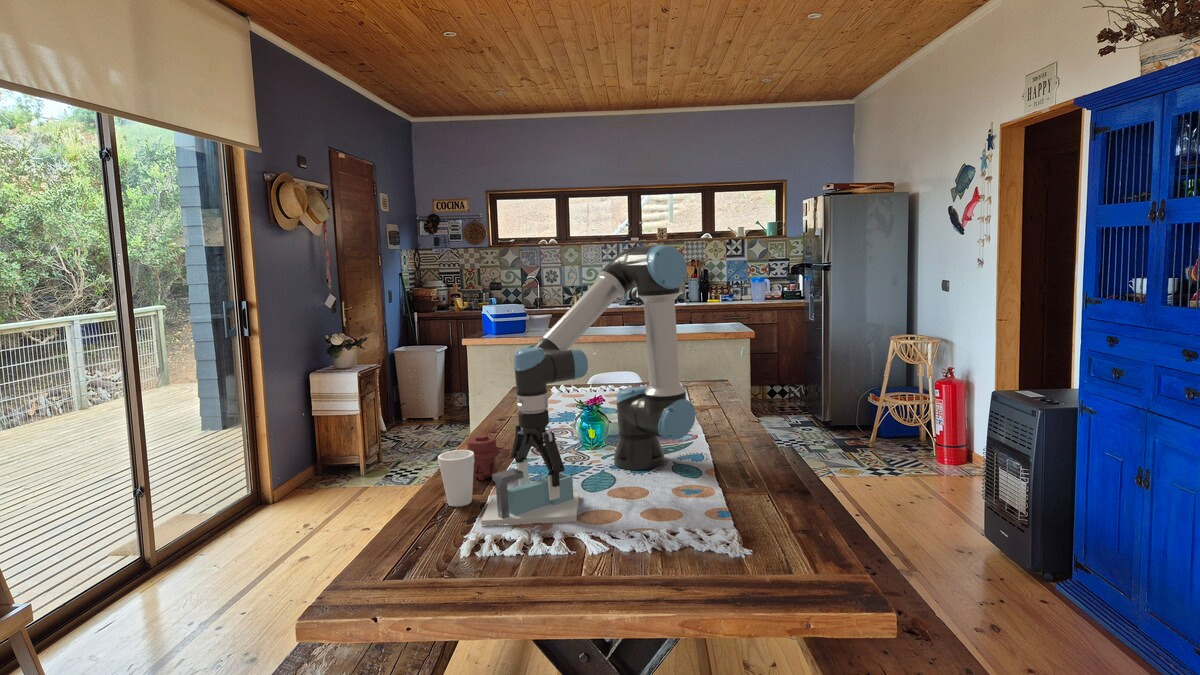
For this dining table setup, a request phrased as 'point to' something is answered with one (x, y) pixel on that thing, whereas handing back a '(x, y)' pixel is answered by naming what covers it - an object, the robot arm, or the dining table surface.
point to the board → (534, 513)
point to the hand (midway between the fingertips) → (539, 492)
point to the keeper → (504, 489)
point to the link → (538, 494)
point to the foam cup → (457, 476)
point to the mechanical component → (483, 455)
